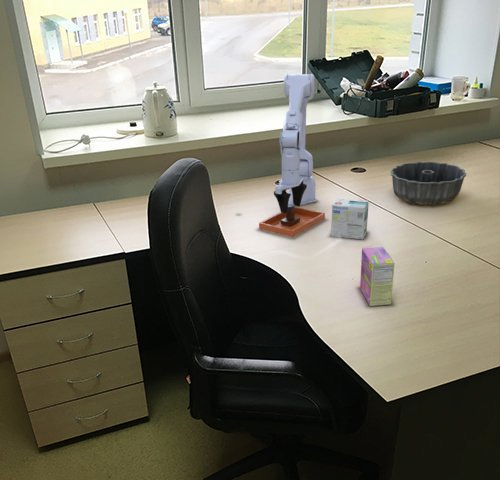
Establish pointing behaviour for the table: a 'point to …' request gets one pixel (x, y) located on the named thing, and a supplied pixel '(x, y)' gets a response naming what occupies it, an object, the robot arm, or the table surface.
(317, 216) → the tray
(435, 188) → the bundt pan
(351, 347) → the table surface
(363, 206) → the light bulb box
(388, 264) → the box
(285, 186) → the robot arm
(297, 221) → the stamp
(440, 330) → the table surface
